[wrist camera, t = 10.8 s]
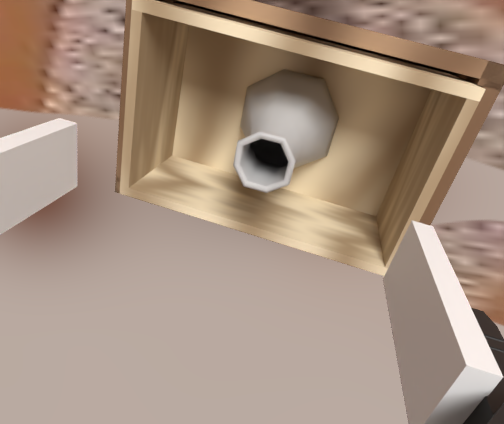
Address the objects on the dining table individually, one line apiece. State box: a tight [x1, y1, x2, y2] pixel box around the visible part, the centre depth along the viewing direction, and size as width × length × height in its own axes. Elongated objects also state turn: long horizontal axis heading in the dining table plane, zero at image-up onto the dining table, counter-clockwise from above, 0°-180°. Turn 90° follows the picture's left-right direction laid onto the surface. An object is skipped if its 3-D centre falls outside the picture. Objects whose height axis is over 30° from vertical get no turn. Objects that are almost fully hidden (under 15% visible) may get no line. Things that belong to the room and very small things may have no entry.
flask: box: [233, 69, 339, 193], centre depth 24 cm, size 7×7×10 cm
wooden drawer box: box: [115, 0, 504, 225], centre depth 26 cm, size 21×14×7 cm, turn 77°
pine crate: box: [120, 0, 486, 276], centre depth 25 cm, size 18×12×8 cm, turn 77°
